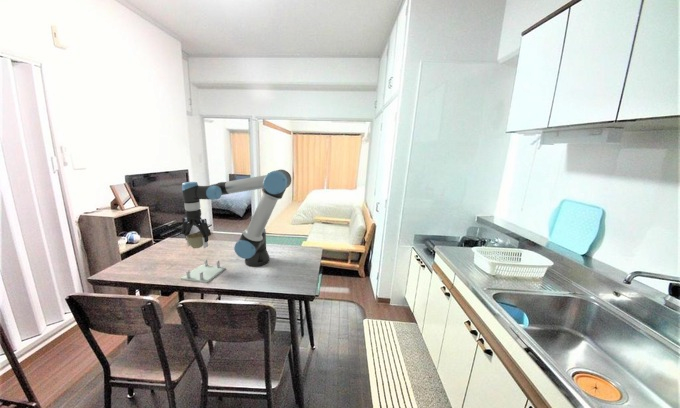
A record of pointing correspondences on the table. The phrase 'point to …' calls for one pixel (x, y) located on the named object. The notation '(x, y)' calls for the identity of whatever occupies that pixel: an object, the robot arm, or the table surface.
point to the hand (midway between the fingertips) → (197, 246)
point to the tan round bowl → (195, 240)
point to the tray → (203, 272)
